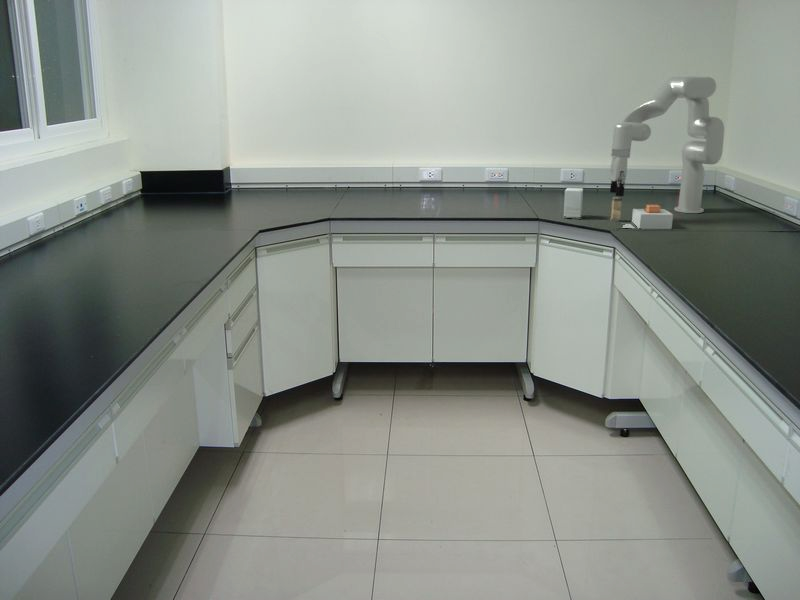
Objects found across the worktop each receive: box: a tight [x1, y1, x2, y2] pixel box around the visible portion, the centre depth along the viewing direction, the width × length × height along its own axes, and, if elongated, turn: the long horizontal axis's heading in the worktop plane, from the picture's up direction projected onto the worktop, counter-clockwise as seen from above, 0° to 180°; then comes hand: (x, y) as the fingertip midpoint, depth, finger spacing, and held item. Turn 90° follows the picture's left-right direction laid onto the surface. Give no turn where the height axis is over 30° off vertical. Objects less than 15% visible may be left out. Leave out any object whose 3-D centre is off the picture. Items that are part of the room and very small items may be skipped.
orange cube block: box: [645, 204, 662, 213], centre depth 304 cm, size 5×5×5 cm
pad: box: [622, 223, 636, 230], centre depth 304 cm, size 8×8×1 cm
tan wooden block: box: [610, 196, 623, 221], centre depth 315 cm, size 3×3×10 cm
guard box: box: [631, 208, 674, 230], centre depth 305 cm, size 12×13×6 cm
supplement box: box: [563, 187, 584, 218], centre depth 322 cm, size 7×7×13 cm
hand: (616, 194), depth 312 cm, fingers open, 9 cm apart
